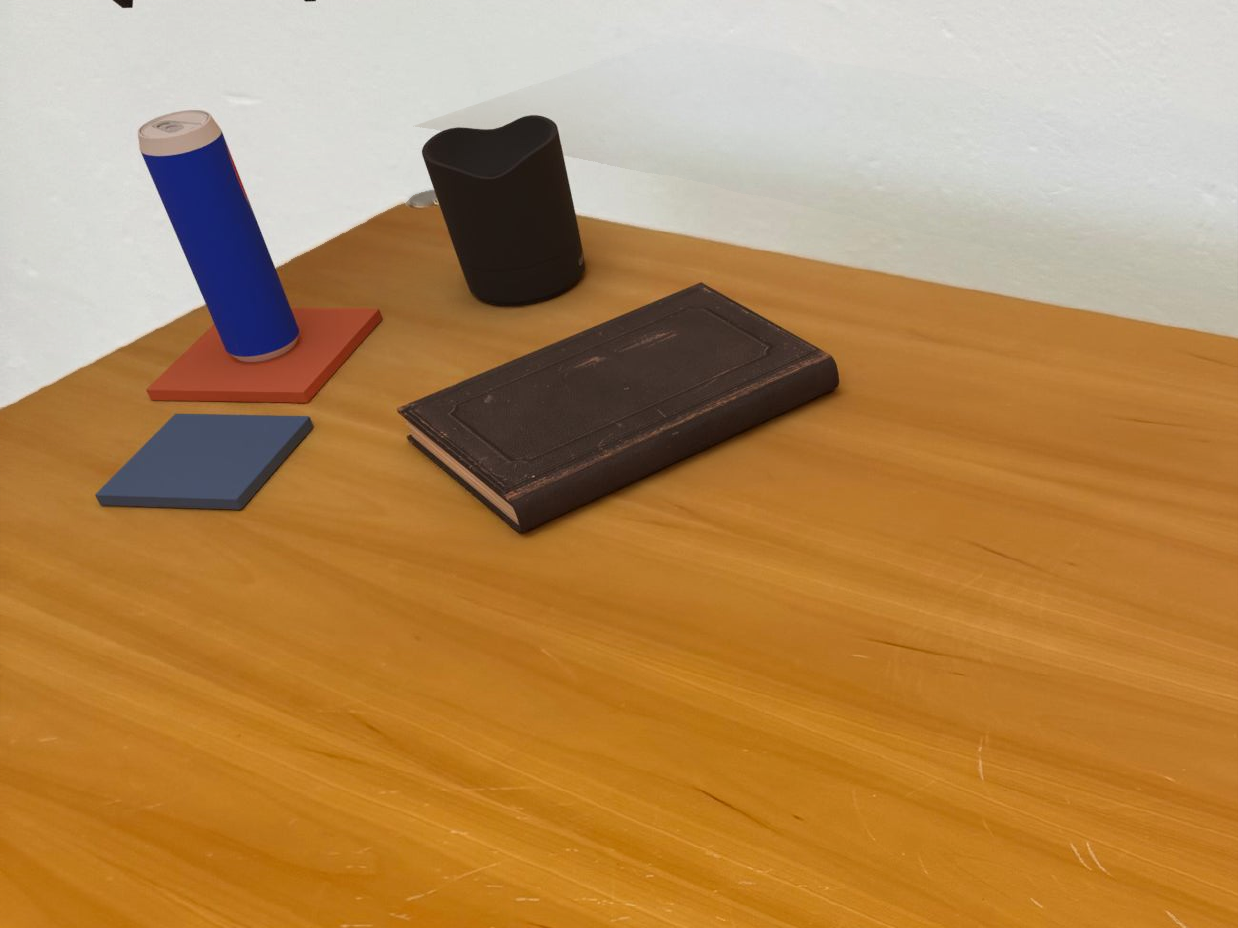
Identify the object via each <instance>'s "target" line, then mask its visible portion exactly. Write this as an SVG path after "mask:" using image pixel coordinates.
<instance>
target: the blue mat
mask: <svg viewBox="0 0 1238 928" xmlns="http://www.w3.org/2000/svg"><path fill="white" fill-rule="evenodd" d="M313 428H314V424H313V421H312V418H311V416H309V415H276V414H275V415H274V414H273V415H271V414H270V415H269V414H267V415H266V414H223V413H222V414H221V413H219V414H218V413H217V414H215V413H214V414H213V413H174V414H173V415H172V416H171V417H170V418H169V419H168V420H167V421H166V422H165V423H164V424H163V425H162V426H161V427H160V428H159V429H158V430H157V431H156V432H155V433H154V435H152V436H151V437H150V438H149V439H148V441H146V442H145V444H144V445H143V446H141V447H140V448H139V450H138V451H136V453H135V454H134V455H133V456H132V457H130V459H129V460H127V461H126V463H124V464H123V466H122V467H121V468H120V469H119V470H118V471H117V472H115V474H114V475H113V476H112V477H110V479H109V480H108V481H107V482H106V483H105V484H104V485H102V487H101V488H100V489H99V490H98V491H97V492H96V493H95V494H94V496H95V498H96V500H97V502H98V504H99V506H111V507H112V506H113V507H137V508H138V507H141V508H144V507H145V508H172V509H200V510H201V509H202V510H203V509H204V510H231V511H233V510H235V511H236V510H237V511H241V510H243V508H244V507H245V506H246V505H247V504H248V503H249V501H250V500H252V498H253V497H254V496H255V495H256V494H257V493H258V492H259V490H260V489H261V488H262V487H263V486H264V484H265V483H266V482H267V480H269V479H270V477H271V476H272V475H273V474H274V473H275V472H276V471H277V469H279V467H280V466H281V465H282V464H283V462H284V461H285V460H286V459H287V458H288V457H289V456H290V455H291V453H292V452H293V451H294V450H295V449H296V448H297V446H298V445H299V444H300V443H301V442H302V441H303V439H305V437H306V436H307V435H308V434H309V433H310V432H311V430H312V429H313Z"/></svg>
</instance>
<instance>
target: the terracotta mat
mask: <svg viewBox="0 0 1238 928" xmlns="http://www.w3.org/2000/svg"><path fill="white" fill-rule="evenodd" d="M291 310H292V312H293V315H294V317H295V320H296V323H297V325H298V328H299V335H298V339H297V342H296V344H295V346H294V347H293V348H292V349H291V350H290V351H288V352H287V353H285V354H283V355H281V356H279V357H276V358H274V359H270V360H267V361H262V362H243V361H240V360H238V359H236V358H235V357H233V356H232V355H230V354H229V353H228V352H227V351H226V350H225V348H224V345H223V343H222V341H221V338H220V336H219V334H218V331H217V329H216V327H215V324H214V323H213V324H212V325H211V326H210V327H209V328H207V330H206V331H205V332H204V333H203V334H202V335H201V336H199V338H198V339H197V340H196V341H195V342H194V343H192V345H190V346H189V348H187V350H186V351H184V352H183V354H181V355H180V356H179V357H178V358H177V359H176V360H175V361H174V362H173V363H172V364H171V365H170V366H169V367H168V368H167V369H166V370H165V371H164V372H163V373H162V374H160V376H158V377H157V378H156V379H155V380H154V381H153V383H151V384H150V385H149V386H148V387H147V388H146V390H145V391H146V393H147V394H148V397H149V399H150V400H151V401H177V402H178V401H179V402H181V401H183V402H185V401H186V402H232V403H233V402H235V403H236V402H237V403H238V402H239V403H240V402H241V403H242V402H243V403H294V404H295V403H297V404H299V403H300V404H308V403H309V402H310V401H311V400H312V398H314V396H316V394H317V393H318V392H319V391H320V390H321V388H323V386H324V385H325V384H326V383H327V382H328V381H329V379H331V378H332V376H333V375H334V374H335V373H336V372H337V371H338V369H339V368H340V367H341V366H342V365H343V364H344V363H345V361H346V360H347V359H348V358H349V357H350V356H351V355H352V354H353V353H354V351H355V350H356V349H357V348H358V347H359V346H360V345H361V344H362V342H364V340H365V339H366V338H367V337H368V336H369V335H370V334H371V332H373V330H374V329H375V328H376V327H377V326H378V324H380V323H381V322H382V320H383V316H382V313H381V310H380V308H374V307H373V308H372V307H371V308H370V307H369V308H363V307H361V308H360V307H359V308H354V307H353V308H352V307H351V308H346V307H345V308H344V307H332V308H331V307H328V308H327V307H291Z"/></svg>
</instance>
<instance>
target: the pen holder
mask: <svg viewBox="0 0 1238 928" xmlns="http://www.w3.org/2000/svg"><path fill="white" fill-rule="evenodd" d="M421 155H422V159H423V162H424V164H425V167H426V171H427V173H428V176H429V179H430V182H431V185H432V187H433V191H434V194H435V196H436V199H437V202H438V205H439V209H440V211H441V214H442V217H443V219H444V223H445V226H446V228H447V231H448V235H449V237H450V240H451V243H452V245H453V246H452V247H453V249H454V252H455V254H456V258H457V260H458V263H459V266H460V268H461V272H462V274H463V277H464V279H465V282H466V285H467V287H468V289H469V291H470V293H471V294H472V295H473V296H475V297H476V298H477V299H479V301H481V302H484V303H486V304H490V305H495V306H503V307H504V306H507V307H509V306H513V307H515V306H523V305H530V304H531V305H532V304H536V303H540V302H543V301H547V300H550V299H552V298H555V297H558V296H560V295H562V294H564V293H566V292H568V291H569V290H571V289H573V287H575V286H576V285H577V284H578V283H579V282H580V281H581V279H582V277H583V274H584V272H585V270H586V261H585V256H584V255H585V254H584V250H583V245H582V239H581V234H580V229H579V224H578V219H577V214H576V209H575V204H574V200H573V199H574V198H573V195H572V189H571V184H570V181H569V176H568V170H567V165H566V162H565V156H564V152H563V147H562V142H561V138H560V133H559V127H558V125H557V123H556V122H555V121H553V120H552V119H551V118H549V117H547V116H543V115H538V114H530V115H524V116H522V117H519V118H516V119H515V120H513V121H511V122H509V123H506V124H504V125H502V126H498V127H495V128H486V129H485V128H472V127H458V126H457V127H450V128H447V129H444V130H442V131H440V132H437V133H436V134H434V135H432V136H431V137H430V138H429V139H427V141H426V142H425V143H424V144H423V147H422V149H421Z"/></svg>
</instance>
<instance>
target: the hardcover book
mask: <svg viewBox="0 0 1238 928" xmlns="http://www.w3.org/2000/svg"><path fill="white" fill-rule="evenodd" d="M839 385H840V375H839V368H838V365H837V362H836V360H835V358H834V357H833V356H832V354H830V353H828V352H826V351H825V350H823V349H821V348H819V347H818V346H816V345H814V344H812V343H810V342H809V341H807V340H805V339H803V338H802V337H799V336H798V335H796V334H794V333H793V332H791V331H789V330H787V329H785V328H783V327H782V326H780V325H778V324H776V323H775V322H773V321H771V320H770V319H768V318H766V317H764V316H763V315H761V314H759V313H757V312H755V311H754V310H752V309H749V308H748V307H746V306H745V305H743V304H741V303H739V302H737V301H735V300H734V299H733V298H730V297H729V296H727V295H725V294H724V293H721V292H720V291H718V290H716V289H714V288H712V287H711V286H709V285H707V284H705V283H704V282H702V281H700V282H697V283H695V284H693V285H691V286H689V287H686V288H684V289H681V290H678V291H676V292H674V293H672V294H669V295H667V296H664V297H661V298H660V299H657V300H654V301H652V302H650V303H647V304H645V305H642V306H640V307H638V308H636V309H633V310H630V311H628V312H626V313H623V314H620V315H618V316H615V317H614V318H611V319H609V320H607V321H604V322H602V323H599V324H597V325H594V326H592V327H590V328H587V329H585V330H582V331H579V332H578V333H575V334H573V335H570V336H568V337H566V338H563V339H561V340H558V341H556V342H553V343H551V344H548V345H546V346H544V347H541V348H538V349H536V350H534V351H531V352H529V353H527V354H524V355H522V356H519V357H517V358H514V359H512V360H510V361H508V362H505V363H502V364H500V365H498V366H495V367H493V368H490V369H489V370H486V371H483V372H481V373H478V374H476V375H474V376H471V377H469V378H467V379H464V380H461V381H459V382H457V383H455V384H452V385H449V386H447V387H445V388H443V389H440V390H437V391H435V392H433V393H431V394H428V395H425V396H423V397H420V398H418V399H416V400H413V401H410V402H409V403H406V404H403V405H401V406H399V407H397V408H396V411H397V414H399V415H400V416H401V417H402V418H404V419H405V420H406V425H405V426H406V427H407V428H408V429H409V431H410V434H409V435H406V440H407V441H409V442H410V443H411V444H412V445H413V446H414V447H415V448H417V449H418V450H419V451H420V452H421V453H423V454H424V455H425V456H426V457H428V458H429V460H431V461H432V462H433V463H434V464H436V465H437V466H438V467H439V468H441V469H442V470H443V471H444V472H445V473H446V474H448V475H449V476H450V477H452V479H454V480H455V481H456V482H457V483H459V484H460V485H461V486H462V487H463V488H465V490H467V491H468V492H469V493H470V494H471V495H473V496H474V497H475V498H476V499H477V500H479V501H480V502H481V503H482V504H483V505H485V506H487V508H488V509H489V510H491V511H492V512H493V513H494V514H496V515H497V516H498V517H499V518H500V519H502V521H504V522H505V523H506V524H507V525H509V526H510V527H511V528H512V529H514V530H515V531H516V532H517V533H518V534H523V533H525V532H528V531H530V530H531V529H533V528H536V527H538V526H540V525H542V524H545V523H547V522H549V521H551V520H553V519H555V518H558V517H560V516H562V515H565V514H567V513H568V512H569V513H570V512H571V511H573V510H575V509H577V508H579V507H582V506H583V505H585V504H588V503H591V502H593V501H595V500H597V499H599V498H601V497H604V496H605V495H607V494H610V493H612V492H614V491H616V490H618V489H620V488H623V487H625V486H627V485H630V484H631V483H635V482H636V481H638V480H641V479H643V478H644V477H646V476H649V475H652V474H653V473H655V472H657V471H660V470H662V469H664V468H667V467H669V466H670V465H673V464H675V463H677V462H679V461H681V460H684V459H686V458H688V457H690V456H692V455H694V454H696V453H698V452H701V451H703V450H705V449H707V448H709V447H712V446H714V445H716V444H719V443H721V442H722V441H725V440H727V439H729V438H732V437H734V436H735V435H739V434H740V433H742V432H744V431H747V430H748V429H751V428H753V427H755V426H757V425H759V424H761V423H763V422H766V421H769V420H770V419H773V418H775V417H776V416H779V415H781V414H783V413H785V412H788V411H790V410H792V409H795V408H797V407H798V406H801V405H803V404H805V403H807V402H810V401H812V400H814V399H816V398H819V397H820V396H823V395H824V394H827V393H829V392H831V391H833V390H836V389H838V388H839Z"/></svg>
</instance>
